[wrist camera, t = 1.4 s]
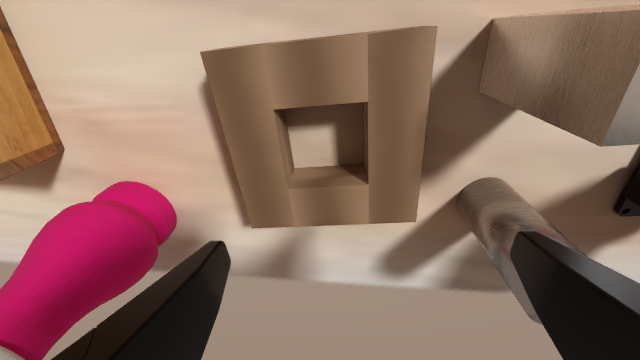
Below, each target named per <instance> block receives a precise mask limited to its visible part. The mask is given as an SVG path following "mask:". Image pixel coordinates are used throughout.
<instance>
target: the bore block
mask: <svg viewBox="0 0 640 360" xmlns="http://www.w3.org/2000/svg"><path fill="white" fill-rule="evenodd" d="M436 33H437V26H419V27H410V28H401V29H392V30H383V31H374V32H365V33H356V34H346V35H337V36H328V37H319V38H310V39H301V40H292V41H283V42H274V43H265V44H255V45H246V46H237V47H228V48H220V49H215V50H209V51H203V52H200V54H201V57H202V61H203V64H204V67H205V71H206V74H207V78H208V81H209V84H210V88H211V91H212V95H213V98H214V101H215V105H216V108H217V112H218V115H219V118H220V122H221V125H222V129H223V132H224V135H225V139H226V142H227V145H228V149H229V152H230V156H231V159H232V162H233V166H234V169H235V173H236V176H237V179H238V183H239V186H240V190H241V193H242V196H243V200H244V203H245V207H246V210H247V213H248V217H249V220H250V224H251V227H252V228H272V227H298V226H324V225H350V224H376V223H402V222H416V217H417V208H418V199H419V190H420V180H421V171H422V162H423V153H424V144H425V135H426V125H427V116H428V107H429V98H430V89H431V79H432V70H433V61H434V52H435V43H436ZM358 102H364V164H358V165H341V166H325V167H309V168H294V164H293V158H292V152H291V146H290V140H289V134H288V128H287V122H286V115H285V109H286V108H298V107H310V106H322V105H334V104H346V103H358Z"/></svg>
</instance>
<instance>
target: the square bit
mask: <svg viewBox="0 0 640 360" xmlns="http://www.w3.org/2000/svg"><path fill="white" fill-rule="evenodd" d="M479 92H481V93H483V94H485V95H488V96H490V97H492V98H494V99H497V100H499V101H501V102H503V103H505V104H508V105H510V106H512V107H514V108H516V109H519V110H521V111H523V112H525V113H528V114H530V115H532V116H534V117H536V118H539V119H541V120H543V121H545V122H547V123H550V124H552V125H554V126H556V127H559V128H561V129H563V130H565V131H567V132H570V133H572V134H574V135H576V136H578V137H581V138H583V139H585V140H587V141H589V142H592V143H594V144H596V145H598V146H617V145H633V144H640V5H629V6H615V7H602V8H589V9H576V10H565V11H556V12H547V13H537V14H528V15H519V16H510V17H501V18H493V21H492V26H491V31H490V36H489V41H488V46H487V51H486V56H485V61H484V67H483V72H482V77H481V82H480V87H479Z"/></svg>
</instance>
